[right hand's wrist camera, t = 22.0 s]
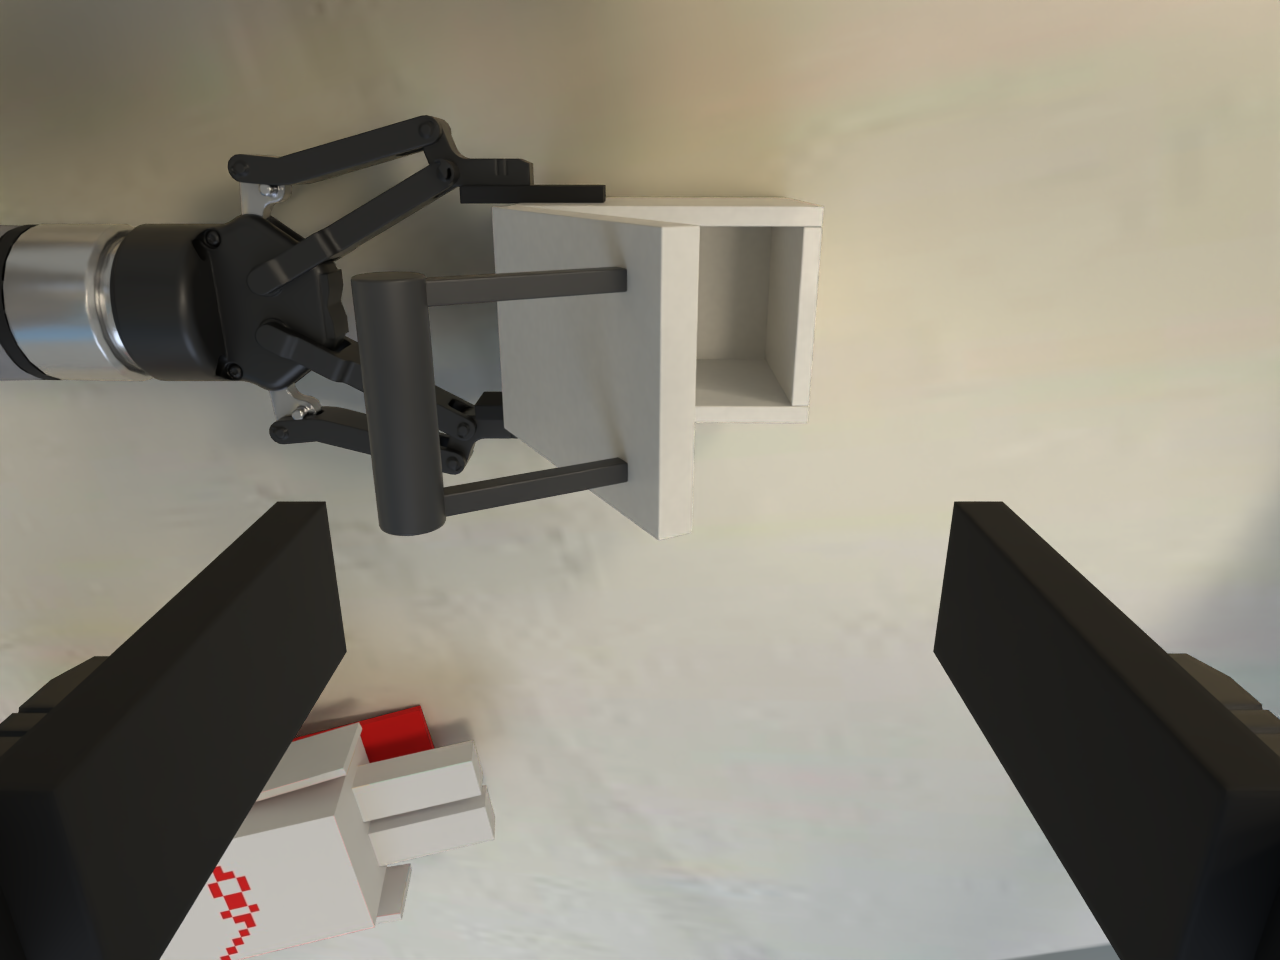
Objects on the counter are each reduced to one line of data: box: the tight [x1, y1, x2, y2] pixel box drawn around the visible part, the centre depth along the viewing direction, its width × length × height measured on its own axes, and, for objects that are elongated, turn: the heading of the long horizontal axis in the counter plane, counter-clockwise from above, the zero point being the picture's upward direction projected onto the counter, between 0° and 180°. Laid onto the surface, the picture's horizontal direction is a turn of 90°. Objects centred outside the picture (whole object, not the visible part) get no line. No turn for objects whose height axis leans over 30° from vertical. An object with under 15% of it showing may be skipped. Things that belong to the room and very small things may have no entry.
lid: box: [351, 206, 700, 540], centre depth 29 cm, size 14×10×9 cm
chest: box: [510, 197, 824, 423], centre depth 42 cm, size 13×10×11 cm
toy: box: [160, 706, 495, 960], centre depth 55 cm, size 12×13×30 cm
